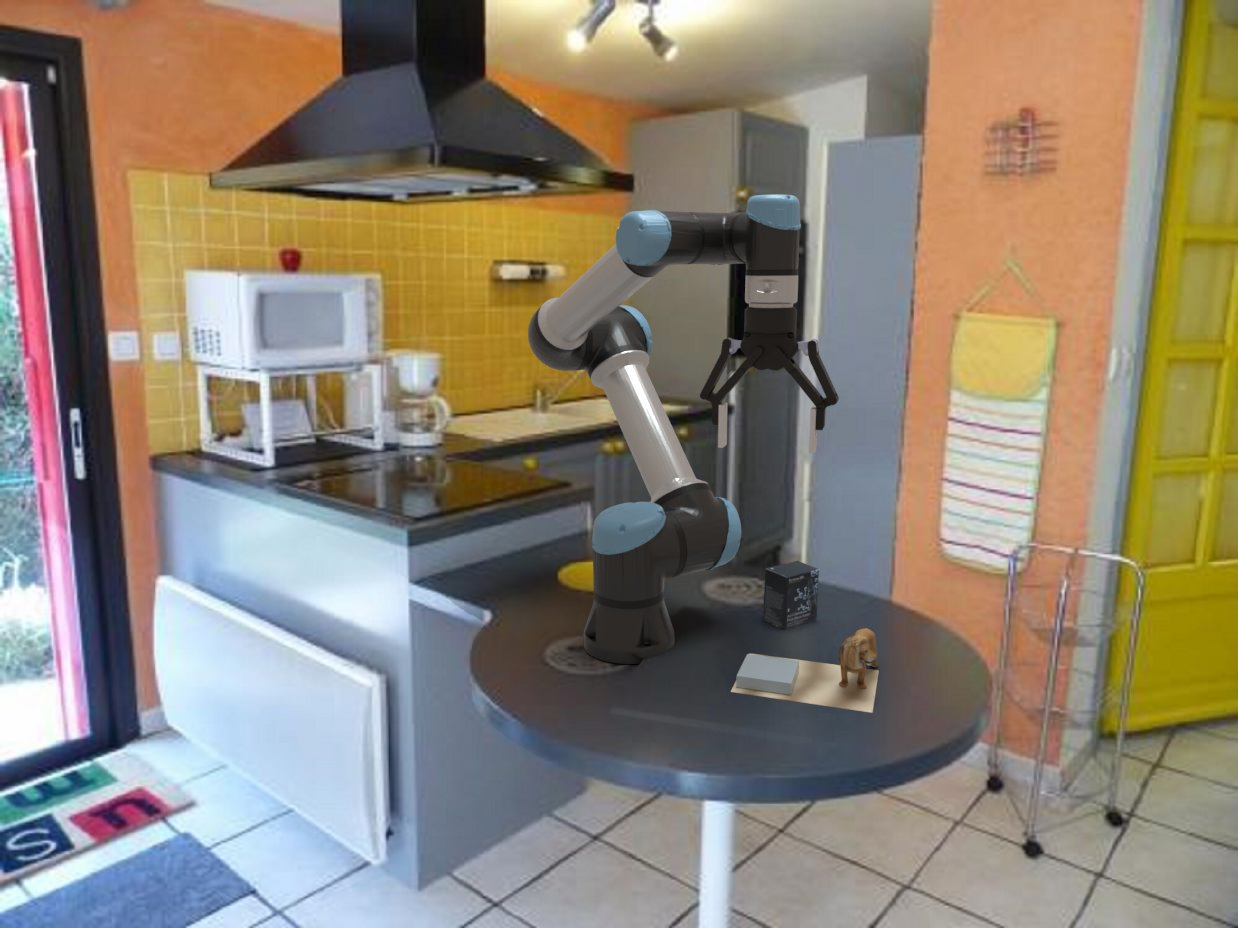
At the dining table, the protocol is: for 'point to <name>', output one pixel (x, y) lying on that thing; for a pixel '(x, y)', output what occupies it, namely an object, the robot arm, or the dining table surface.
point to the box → (790, 594)
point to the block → (768, 674)
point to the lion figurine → (857, 656)
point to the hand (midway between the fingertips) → (766, 449)
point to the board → (825, 687)
